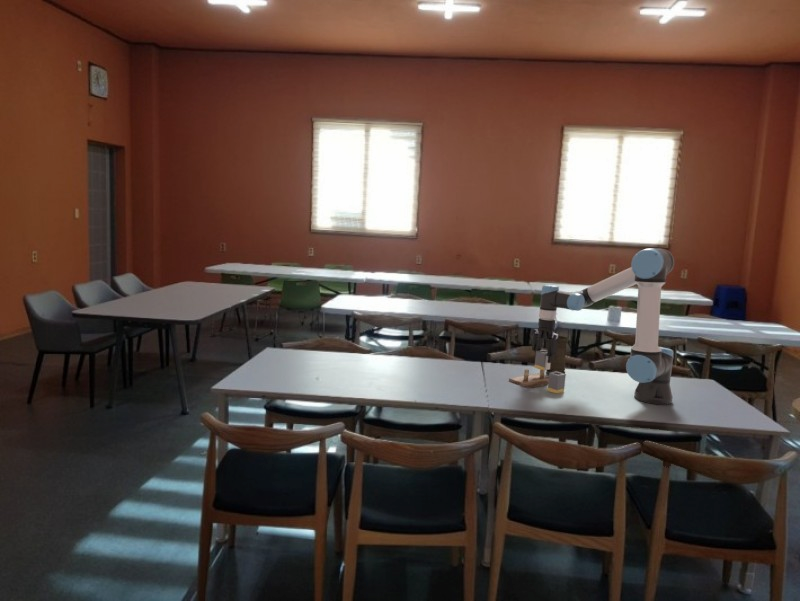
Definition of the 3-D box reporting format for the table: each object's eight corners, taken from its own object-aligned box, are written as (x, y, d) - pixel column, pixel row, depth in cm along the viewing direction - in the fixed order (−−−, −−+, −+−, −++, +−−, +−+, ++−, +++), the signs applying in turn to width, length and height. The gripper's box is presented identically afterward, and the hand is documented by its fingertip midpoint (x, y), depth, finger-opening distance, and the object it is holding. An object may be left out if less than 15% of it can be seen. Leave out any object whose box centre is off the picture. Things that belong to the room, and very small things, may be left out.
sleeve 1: (550, 369, 276) (551, 352, 275) (542, 370, 273) (544, 353, 272) (541, 366, 280) (543, 349, 279) (534, 367, 277) (536, 350, 276)
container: (560, 376, 285) (564, 340, 282) (543, 373, 290) (546, 336, 288) (568, 373, 292) (571, 337, 289) (550, 369, 297) (554, 334, 295)
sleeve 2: (563, 392, 260) (565, 374, 259) (556, 393, 257) (558, 375, 256) (554, 388, 264) (556, 371, 263) (547, 390, 261) (549, 372, 260)
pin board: (558, 382, 275) (559, 369, 274) (529, 387, 263) (530, 374, 262) (537, 375, 285) (539, 363, 284) (508, 380, 273) (510, 367, 272)
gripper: (568, 321, 268) (563, 371, 272) (537, 314, 282) (532, 362, 286) (557, 322, 264) (552, 373, 267) (526, 315, 278) (522, 364, 281)
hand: (542, 367), depth 276 cm, fingers closed on sleeve 1, 5 cm apart
